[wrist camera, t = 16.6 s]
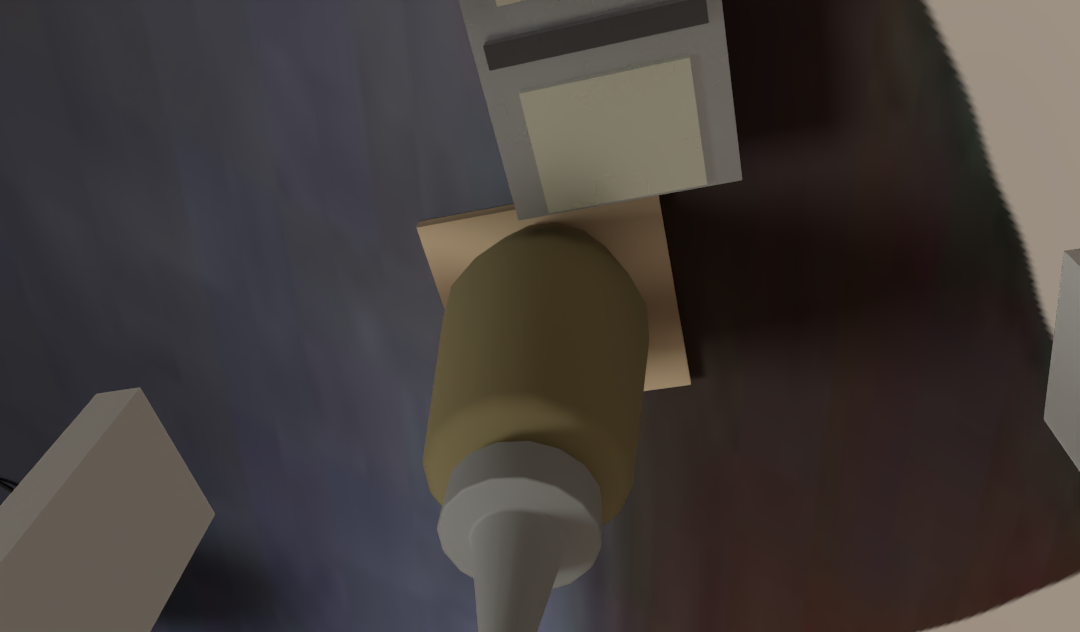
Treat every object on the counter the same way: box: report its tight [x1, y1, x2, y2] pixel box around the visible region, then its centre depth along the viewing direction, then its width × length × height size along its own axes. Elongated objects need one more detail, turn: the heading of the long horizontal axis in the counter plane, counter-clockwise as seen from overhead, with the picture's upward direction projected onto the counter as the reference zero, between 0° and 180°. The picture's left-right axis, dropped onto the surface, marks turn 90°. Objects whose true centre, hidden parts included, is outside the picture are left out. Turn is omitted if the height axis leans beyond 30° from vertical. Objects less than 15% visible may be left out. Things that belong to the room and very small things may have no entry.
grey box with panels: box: [459, 0, 742, 221], centre depth 27 cm, size 12×8×5 cm, turn 13°
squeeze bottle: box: [422, 223, 649, 632], centre depth 27 cm, size 8×8×18 cm
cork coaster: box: [417, 195, 691, 391], centre depth 36 cm, size 10×10×1 cm
